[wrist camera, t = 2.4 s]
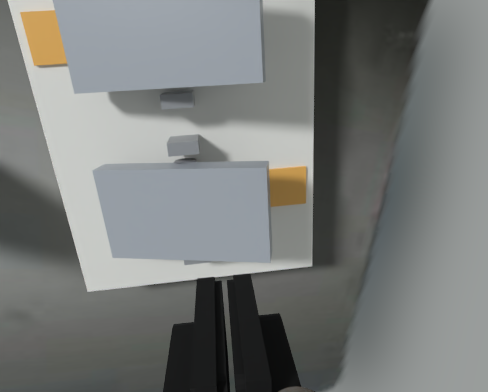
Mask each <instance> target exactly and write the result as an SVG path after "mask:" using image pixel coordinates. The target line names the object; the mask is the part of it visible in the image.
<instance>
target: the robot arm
mask: <svg viewBox="0 0 488 392" xmlns="http://www.w3.org/2000/svg"><path fill="white" fill-rule="evenodd" d="M227 287H228V300H229V313H230V326H231V338H232V351H233V364H234V376H235V389H236V392H315V391H312V390H310V389H308V388H304V387H301V385H300V381H299V378H298V374H297V371H296V367H295V364H294V360H293V357H292V354H291V350H290V347H289V343H288V340H287V336H286V333H285V329H284V326H283V322H282V319H281V316H280V314H279V313H278V314H269V315H258V310H257V305H256V300H255V295H254V290H253V285H252V280H251V275H250V273H249V274H238V275H233V280H227ZM163 392H230V383H229V367H228V352H227V340H226V328H225V316H224V304H223V293H222V281H215V277H206V278H197V287H196V303H195V318H194V322H191V323H182V324H174V325H173V329H172V335H171V341H170V348H169V355H168V362H167V369H166V375H165V382H164V389H163Z"/></svg>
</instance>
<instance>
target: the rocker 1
mask: <svg viewBox="0 0 488 392" xmlns="http://www.w3.org/2000/svg"><path fill="white" fill-rule="evenodd" d="M53 4H54V8H55V13H56V17H57V21H58V26H59V30H60V34H61V38H62V43H63V47H64V51H65V56H66V60H67V64H68V68H69V73H70V77H71V81H72V86H73V90H74V94H79V93H96V92H113V91H130V90H148V89H165V88H182V87H199V86H216V85H233V84H250V83H263V82H265V81H266V74H265V48H264V23H263V0H53Z"/></svg>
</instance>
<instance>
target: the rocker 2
mask: <svg viewBox="0 0 488 392" xmlns="http://www.w3.org/2000/svg"><path fill="white" fill-rule="evenodd" d="M92 171H93V176H94V180H95V184H96V188H97V193H98V197H99V201H100V206H101V210H102V214H103V218H104V223H105V227H106V231H107V236H108V240H109V244H110V248H111V253H112V257H113V258H132V259H164V260H195V261H226V262H258V263H271V257H272V229H271V203H270V177H269V161H231V162H197V161H196V159H195V158H182V159H178V160H175V161H174V163H127V164H104V165H102V166H100V167H98V168H96V169H94V170H92Z"/></svg>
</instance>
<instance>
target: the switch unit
mask: <svg viewBox="0 0 488 392" xmlns="http://www.w3.org/2000/svg"><path fill="white" fill-rule="evenodd" d="M8 3H9V7H10V11H11V14H12V18H13V22H14V25H15V29H16V32H17V36H18V40H19V43H20V47H21V51H22V54H23V58H24V62H25V65H26V69H27V72H28V76H29V80H30V83H31V87H32V91H33V94H34V98H35V102H36V105H37V109H38V112H39V116H40V120H41V123H42V127H43V131H44V134H45V138H46V142H47V145H48V149H49V152H50V156H51V160H52V163H53V167H54V171H55V174H56V178H57V182H58V185H59V189H60V192H61V196H62V200H63V203H64V207H65V211H66V214H67V218H68V222H69V225H70V229H71V232H72V236H73V240H74V243H75V247H76V251H77V254H78V258H79V262H80V265H81V269H82V272H83V276H84V280H85V283H86V287H87V291H88V292H90V291H98V290H107V289H116V288H125V287H134V286H143V285H151V284H160V283H169V282H178V281H187V280H195V279H197V278H206V277H222V276H231V275H238V274H248V273H257V272H266V271H275V270H284V269H292V268H301V267H310V266H312V244H313V140H314V35H315V0H263V23H264V48H265V74H266V81H265V82H263V83H250V84H233V85H216V86H199V87H182V88H165V89H148V90H130V91H113V92H96V93H79V94H74V90H73V86H72V81H71V77H70V73H69V68H68V64H67V60H66V56H65V51H64V47H63V43H62V38H61V34H60V30H59V26H58V21H57V17H56V13H55V8H54V4H53V0H8ZM182 158H195V159H196V161H197V162H231V161H269V177H270V203H271V229H272V257H271V263H258V262H226V261H195V260H164V259H132V258H113V257H112V253H111V248H110V244H109V240H108V236H107V231H106V227H105V223H104V218H103V214H102V210H101V206H100V201H99V197H98V193H97V188H96V184H95V180H94V176H93V171H92V170H94V169H96V168H98V167H100V166H102V165H104V164H127V163H174V161H175V160H178V159H182Z"/></svg>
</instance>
